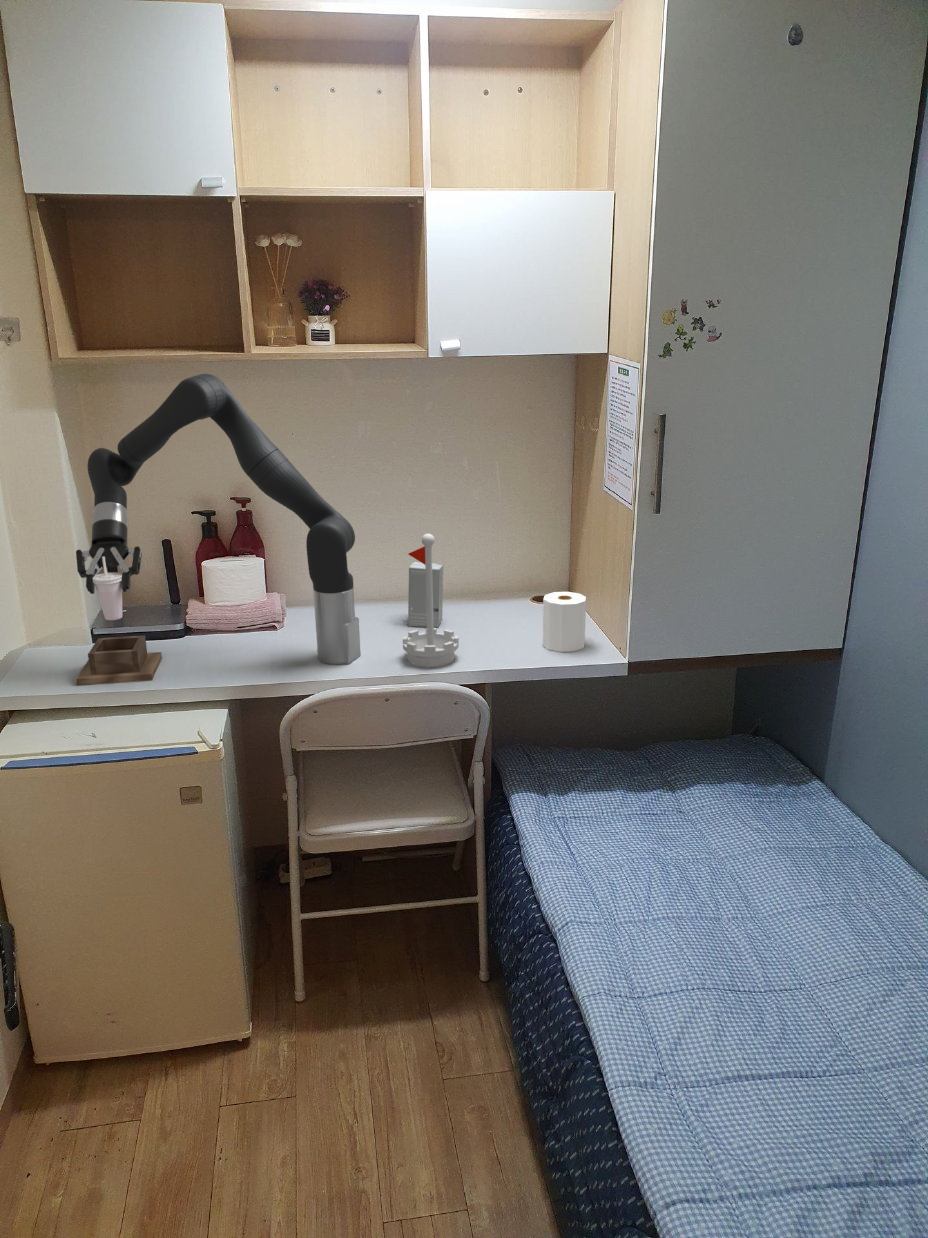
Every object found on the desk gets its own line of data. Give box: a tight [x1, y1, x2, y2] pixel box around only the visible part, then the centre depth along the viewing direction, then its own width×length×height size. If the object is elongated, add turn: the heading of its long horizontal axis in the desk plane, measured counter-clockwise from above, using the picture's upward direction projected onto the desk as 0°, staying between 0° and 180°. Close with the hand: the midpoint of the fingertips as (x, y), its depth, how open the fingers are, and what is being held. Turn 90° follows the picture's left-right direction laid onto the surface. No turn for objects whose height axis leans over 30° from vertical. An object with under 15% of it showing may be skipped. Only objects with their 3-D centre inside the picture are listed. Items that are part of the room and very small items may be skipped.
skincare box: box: [407, 561, 444, 628], centre depth 234 cm, size 8×7×16 cm
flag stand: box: [402, 533, 460, 668], centre depth 208 cm, size 13×13×30 cm
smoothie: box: [92, 557, 123, 621], centre depth 201 cm, size 6×6×14 cm
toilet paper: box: [542, 591, 587, 653], centre depth 218 cm, size 10×10×12 cm
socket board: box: [75, 635, 163, 686], centre depth 206 cm, size 16×14×6 cm
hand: (108, 591), depth 199 cm, fingers closed on smoothie, 6 cm apart
